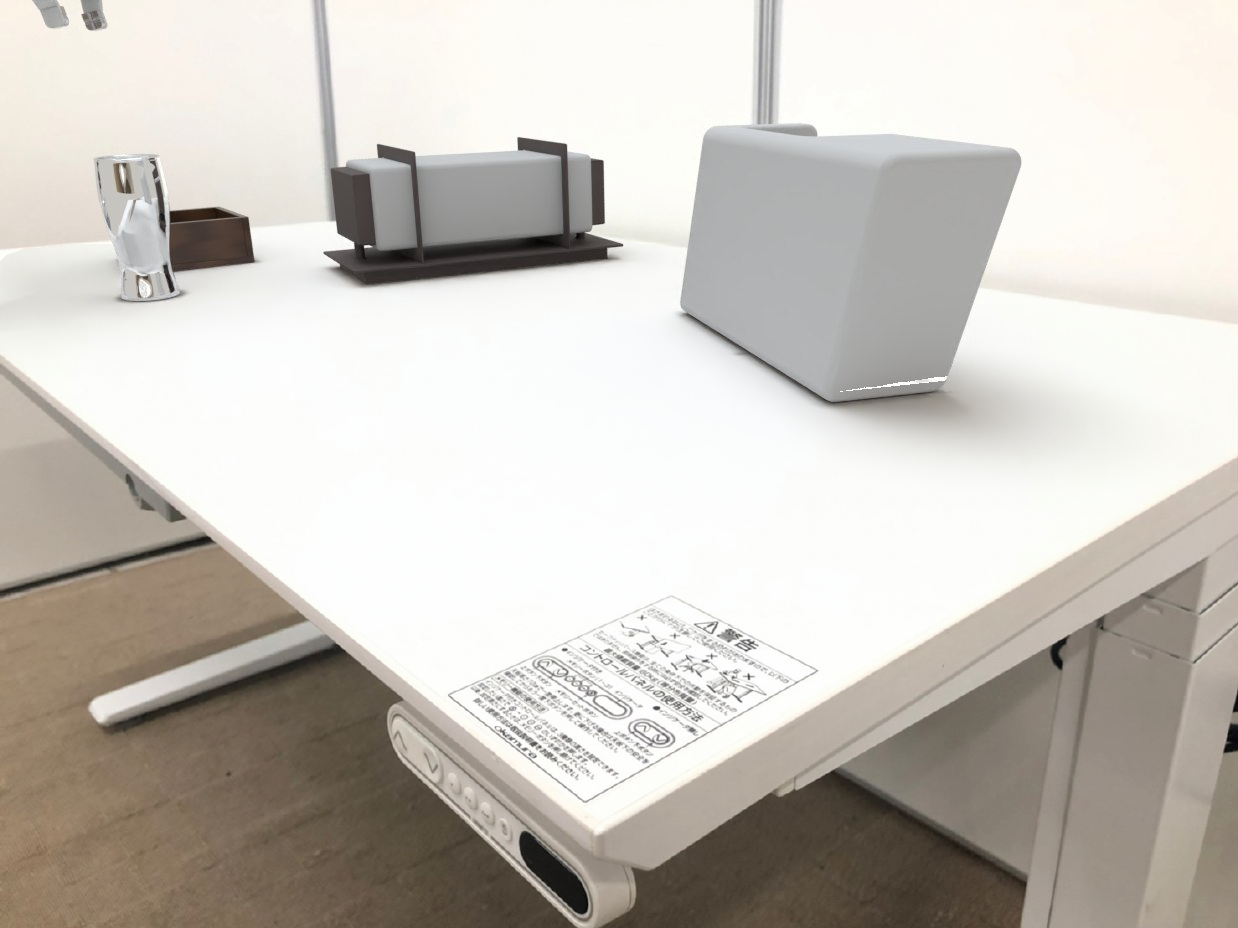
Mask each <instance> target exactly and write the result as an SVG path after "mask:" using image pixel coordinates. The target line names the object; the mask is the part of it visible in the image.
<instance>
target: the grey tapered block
mask: <svg viewBox="0 0 1238 928" xmlns="http://www.w3.org/2000/svg"><path fill="white" fill-rule="evenodd" d="M1021 168H1022V157H1021V154H1020V152H1018V151H1017V150H1016V149H1015V148H1013V147H1007V146H998V145H989V144H982V143H974V142H973V143H972V142H964V141H956V140H955V141H954V140H947V139H940V138H939V139H938V138H929V137H920V136H911V135H905V134H895V133H875V134H874V133H873V134H851V135H846V134H845V135H821V136H818V130H817V128H816V127H815V126H814V125H813V124H809V123H801V122H792V123H790V122H789V123H764V124H763V123H761V124H759V123H758V124H732V125H731V124H730V125H728V124H727V125H714V126H711V127H709V128H708V129H707V130H706V131H705V132H704V135H703V137H702V144H701V150H700V158H699V166H698V172H697V178H696V179H697V180H696V186H695V192H694V193H695V194H694V201H693V206H692V214H691V223H690V229H689V236H688V243H687V251H686V257H685V265H684V273H683V280H682V285H681V293H680V301H679V305H680V308H681V310H682V311H683V312H685V313H687V314H688V315H690V316H692V317H694V318H695V319H697V320H698V321H699V322H701V323H703V324H704V325H706V326H707V327H709V328H711V329H712V330H714V331H715V332H717V333H719V334H720V335H723V336H724V337H725V338H726V339H728V340H729V341H731V342H733V343H734V344H736V345H738V346H740V347H741V348H742V349H744V350H745V351H747V352H749V353H751V354H752V355H754V356H756V357H757V358H759V359H760V360H762V361H763V362H765V363H767V364H768V365H770V366H772V368H775V369H776V370H778V371H779V372H782V373H783V374H784V375H786V376H788V377H789V378H790V379H792V380H794V381H796V382H797V383H799V384H800V385H802V386H803V387H805V388H806V389H808V390H810V391H811V392H813V393H815V394H816V395H818V396H820V398H822V399H825V400H826V401H828V402H831V403H839V402H848V401H849V402H850V401H856V400H858V401H859V400H866V399H867V400H869V399H876V398H887V397H895V396H904V395H914V394H923V393H932V392H935V391H937V390H940V389H941V387H943V386H944V385H945V384H946V382H947V380H945V381H938V382H929V383H919V384H910V385H900V386H891V387H881V388H872V389H862V390H853V391H846V390H852V389H858V388H859V389H860V388H864V387H865V388H866V387H877V386H883V385H887V384H893V383H898V382H908V381H909V382H910V381H915V380H922V379H928V378H934V377H945V376H948V377H949V374H950V372H951V369H952V365H953V363H954V360H955V357H956V354H957V352H958V348H959V345H960V343H961V340H962V336H963V334H964V331H965V329H966V325H967V322H968V319H969V316H970V314H971V312H972V308H973V305H974V302H975V300H976V298H977V293H978V291H979V288H980V285H981V282H982V280H983V277H984V274H985V272H986V268H987V265H988V263H989V259H990V257H991V254H992V252H993V248H994V245H995V243H996V239H997V236H998V234H999V231H1000V228H1001V225H1002V222H1003V220H1004V217H1005V214H1006V210H1007V208H1008V205H1009V202H1010V199H1011V196H1012V195H1013V194H1012V193H1013V191H1014V188H1015V186H1016V182H1017V179H1018V176H1019V174H1020V171H1021ZM840 391H843V392H840Z"/></svg>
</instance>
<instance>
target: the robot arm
mask: <svg viewBox="0 0 1238 928" xmlns="http://www.w3.org/2000/svg"><path fill="white" fill-rule="evenodd" d="M31 1H32V2H33V4H34V5H35V6H36V8H37V9H38V10H39V12H40V15H41V17H42V19H43V21H44V22H43V23H45V24H44V25H45V26H46V27H47V28H48V29H55V30H57V29H61V28H65V27H68V26H69V25H70V20H69V17H68V16H67V12H66V9H65V7H64V6H62V5H60V3H59V0H31ZM80 3H81V8H82V12H83V13H81V18H82V20H83V22H84V25H85V28H86V29H87V30H88V31H92V32H98V31H99V32H100V31H102V30H106V29H107V28H108V22H107V19H106V16H105V14H104V11H103V10H104V7H103V0H80Z"/></svg>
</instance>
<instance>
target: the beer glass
mask: <svg viewBox="0 0 1238 928" xmlns="http://www.w3.org/2000/svg"><path fill="white" fill-rule="evenodd" d="M93 165H94V174H95V175H94V176H95V183H96V184H95V185H96V190H97V191H96V192H97V198H98V203H99V208H100V211H101V215H102V218H103V221H104V225H105V227H106V230H107V232H108V236H109V238H110V240H111V243H112V246H113V248H114V251H115V254H116V257H117V260H118V265H119V271H120V297H121V299H122V300H125V301H128V302H151V301H161V300H165V299H170V298H174V297H178V296H179V295H180V293H181V290H180V289H181V288H180V286H179V284H178V280H177V277H176V275H175V271H173V269H172V264H171V256H170V211H171V204H170V197H169V196H170V195H169V190H168V186H167V181H166V176H165V173H164V169H163V165H162V161H161V155H159V154H153V153H138V154H137V153H133V154H129V153H128V154H114V155H103V156H95V157H93Z"/></svg>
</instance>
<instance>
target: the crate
mask: <svg viewBox="0 0 1238 928" xmlns="http://www.w3.org/2000/svg"><path fill="white" fill-rule="evenodd" d="M253 247H254V245H253V240H252V233H251V225H250V218H249V216H246V215H244V214H241V213H239V212H235V211H233V210H230V209H227V208H224V207H222V206H208V207H207V206H206V207H196V208H184V209H172V210H171V209H170V256H171V264H172V269H173V272H180V271H188V270H196V269H197V270H198V269H206V268H216V267H223V266H232V265H234V266H235V265H242V264H251V263H255V262H256V261H255V255H254V248H253Z"/></svg>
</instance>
